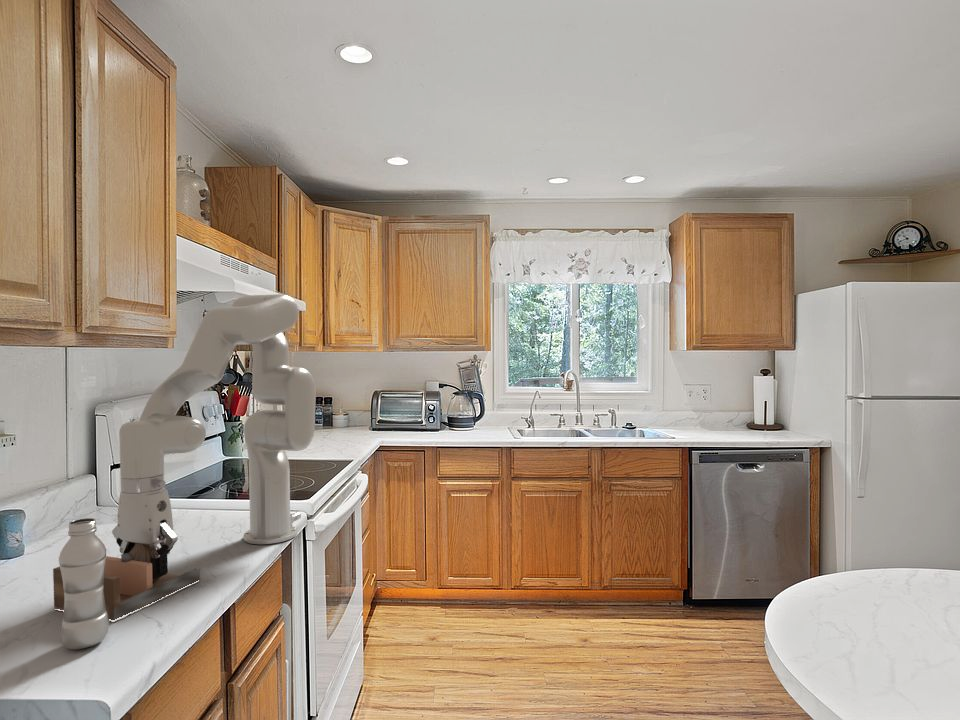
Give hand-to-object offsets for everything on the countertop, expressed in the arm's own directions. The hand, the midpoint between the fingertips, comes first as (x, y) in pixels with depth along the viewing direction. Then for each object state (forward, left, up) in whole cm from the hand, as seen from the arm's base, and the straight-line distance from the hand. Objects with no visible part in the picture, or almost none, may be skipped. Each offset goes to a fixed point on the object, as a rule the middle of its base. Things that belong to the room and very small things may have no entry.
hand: (145, 573), depth 119 cm
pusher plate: (+4, 0, -3) cm, 5 cm away
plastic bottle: (+20, +10, -3) cm, 22 cm away
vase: (0, 0, -2) cm, 2 cm away
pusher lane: (+3, 0, -3) cm, 4 cm away
